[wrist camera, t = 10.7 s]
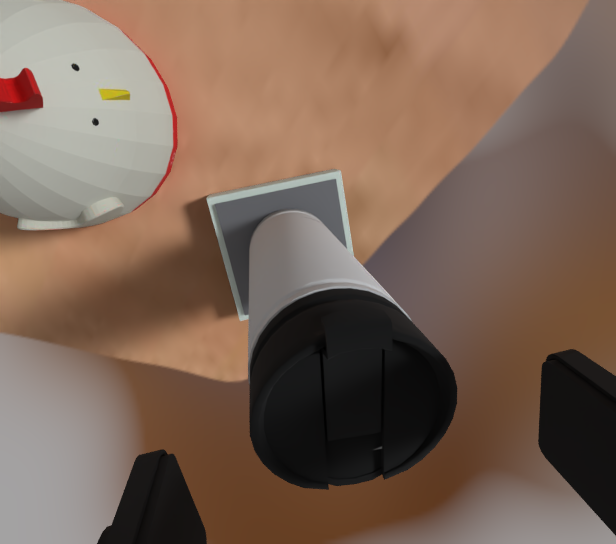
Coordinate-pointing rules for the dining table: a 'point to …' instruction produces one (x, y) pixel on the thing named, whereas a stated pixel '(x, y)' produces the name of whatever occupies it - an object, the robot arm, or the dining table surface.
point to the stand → (262, 202)
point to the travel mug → (335, 363)
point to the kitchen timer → (77, 118)
